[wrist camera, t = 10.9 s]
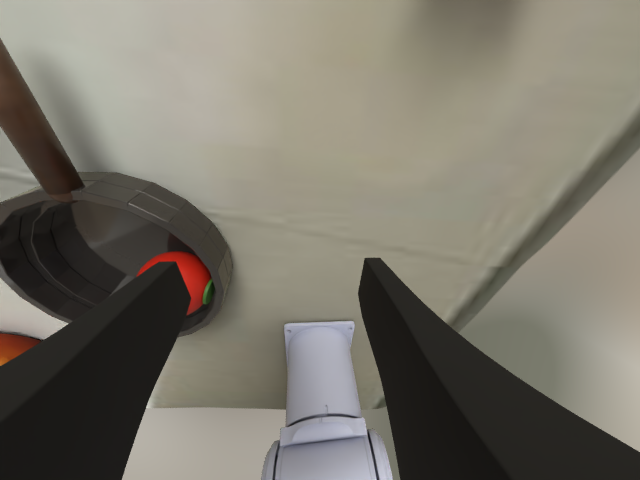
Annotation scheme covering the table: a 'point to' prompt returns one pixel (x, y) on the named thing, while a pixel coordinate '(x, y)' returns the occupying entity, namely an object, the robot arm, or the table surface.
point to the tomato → (189, 276)
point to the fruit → (14, 346)
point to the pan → (103, 244)
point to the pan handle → (34, 134)
